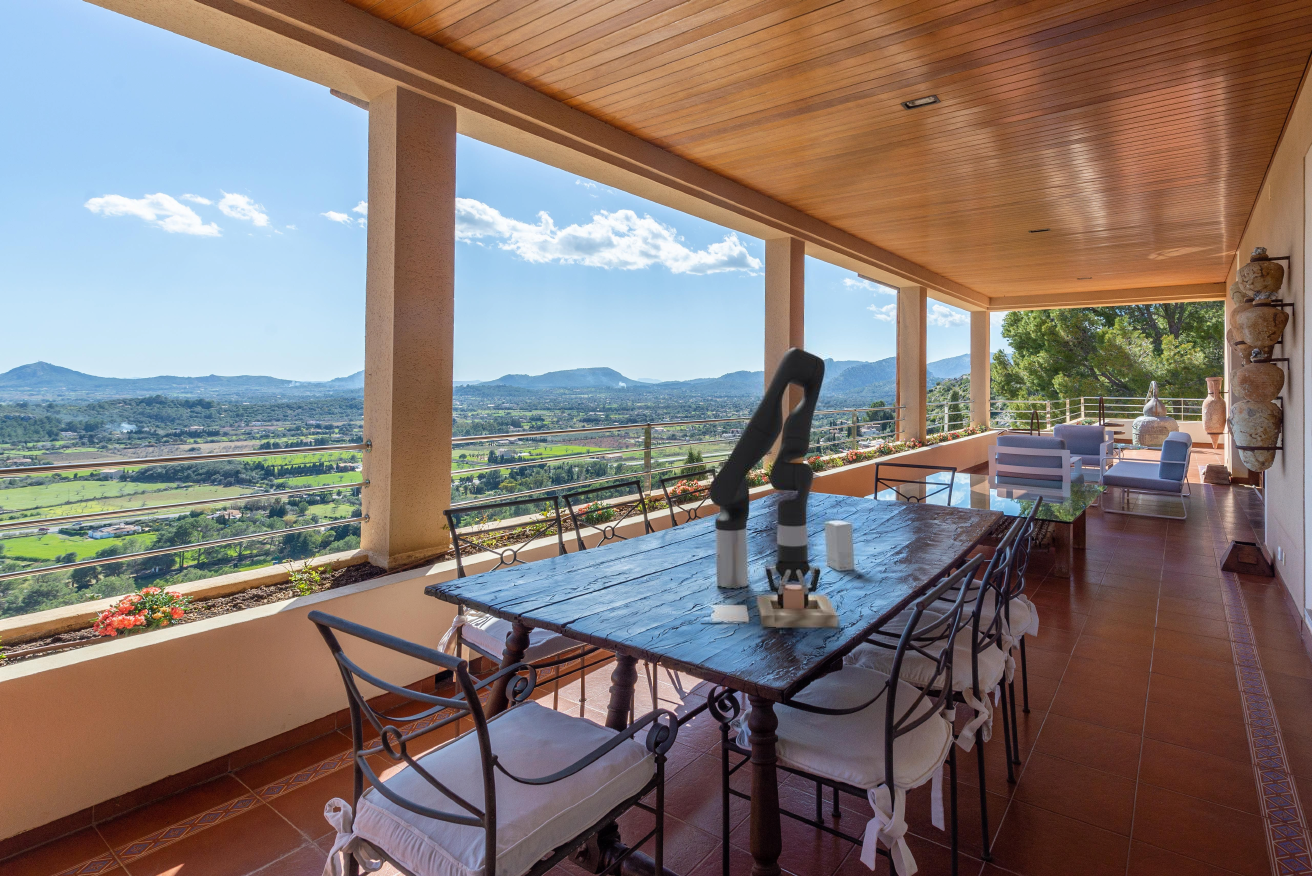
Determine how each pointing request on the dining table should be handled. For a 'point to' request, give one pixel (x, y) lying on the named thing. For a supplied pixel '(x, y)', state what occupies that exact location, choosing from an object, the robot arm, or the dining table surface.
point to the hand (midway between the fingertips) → (793, 607)
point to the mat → (730, 613)
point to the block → (793, 597)
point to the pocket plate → (797, 613)
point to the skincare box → (839, 545)
